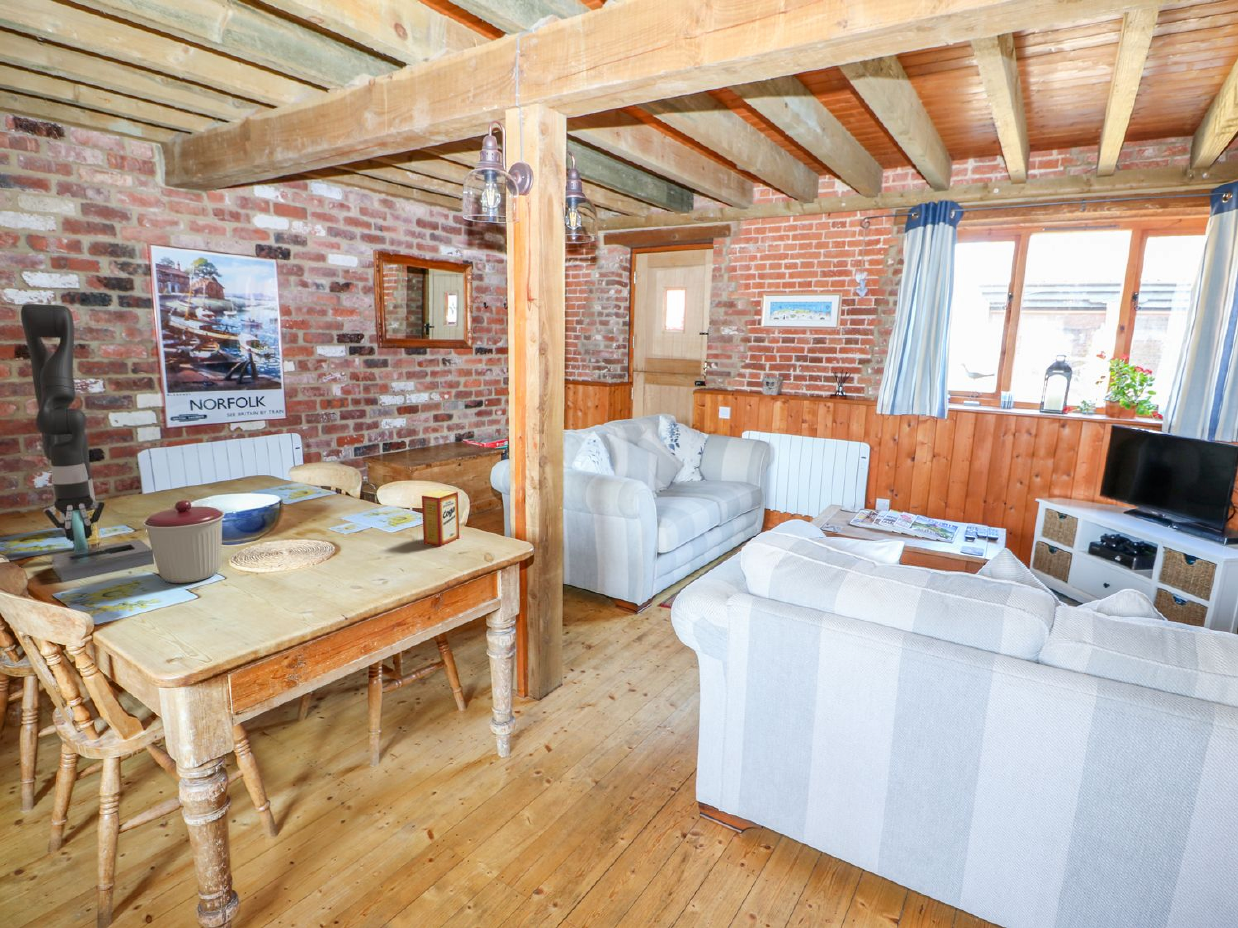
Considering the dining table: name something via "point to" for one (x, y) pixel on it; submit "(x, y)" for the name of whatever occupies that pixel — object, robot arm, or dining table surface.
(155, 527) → the canister
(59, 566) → the grey slotted block
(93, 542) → the sauce bottle
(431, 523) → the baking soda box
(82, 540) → the peg
